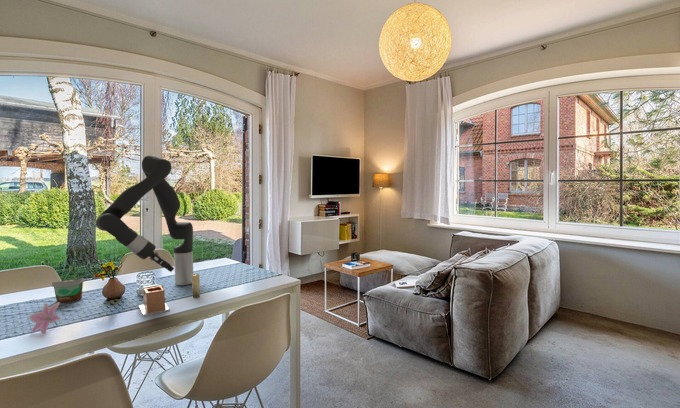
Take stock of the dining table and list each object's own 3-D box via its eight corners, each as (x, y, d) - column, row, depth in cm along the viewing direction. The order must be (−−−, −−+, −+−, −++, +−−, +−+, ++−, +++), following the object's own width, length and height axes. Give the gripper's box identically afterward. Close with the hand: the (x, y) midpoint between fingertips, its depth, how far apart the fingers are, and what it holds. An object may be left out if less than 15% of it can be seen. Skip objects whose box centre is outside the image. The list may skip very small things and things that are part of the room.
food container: (49, 306, 156) (47, 284, 155) (53, 301, 161) (51, 280, 160) (83, 301, 162) (81, 280, 161) (85, 297, 167) (84, 277, 166)
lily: (30, 329, 134) (17, 313, 129) (65, 310, 142) (54, 294, 136) (41, 347, 128) (28, 331, 123) (76, 325, 136) (65, 309, 130)
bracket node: (138, 307, 154) (137, 286, 154) (163, 302, 161) (162, 282, 160) (143, 316, 144) (142, 294, 143) (169, 310, 150) (168, 289, 149)
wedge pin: (192, 296, 168) (191, 274, 167) (198, 295, 169) (198, 273, 169) (193, 298, 165) (193, 276, 164) (200, 297, 167) (200, 274, 166)
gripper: (150, 242, 147) (180, 264, 155) (144, 237, 159) (173, 258, 166) (136, 256, 145) (167, 278, 152) (131, 250, 156) (161, 271, 164)
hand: (170, 268), depth 159 cm, fingers open, 8 cm apart
